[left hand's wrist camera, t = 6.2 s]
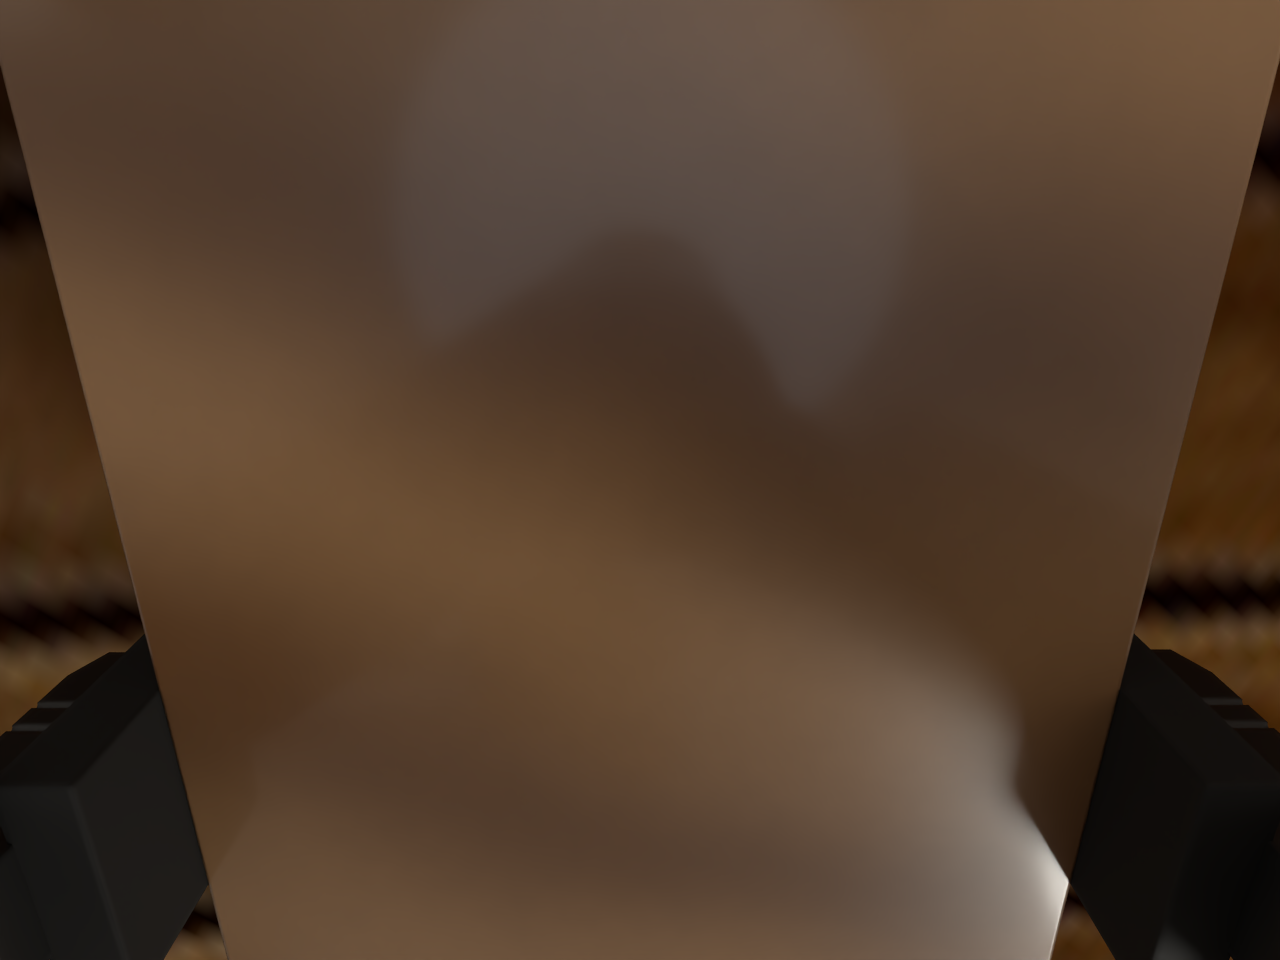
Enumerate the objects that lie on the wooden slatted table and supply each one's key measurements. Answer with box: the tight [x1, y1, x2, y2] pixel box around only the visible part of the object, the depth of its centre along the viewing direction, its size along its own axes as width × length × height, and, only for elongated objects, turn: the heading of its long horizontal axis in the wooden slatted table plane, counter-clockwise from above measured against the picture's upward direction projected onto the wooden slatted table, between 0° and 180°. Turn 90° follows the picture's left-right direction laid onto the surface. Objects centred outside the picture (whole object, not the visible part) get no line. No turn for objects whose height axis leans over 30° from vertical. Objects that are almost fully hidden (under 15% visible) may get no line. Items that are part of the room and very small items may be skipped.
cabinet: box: [0, 0, 1280, 960], centre depth 11 cm, size 19×10×8 cm, turn 0°
